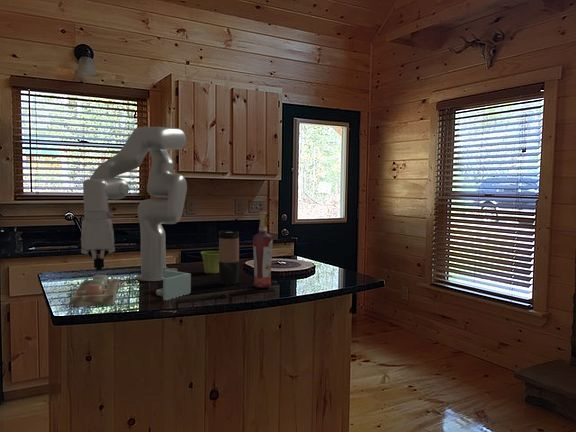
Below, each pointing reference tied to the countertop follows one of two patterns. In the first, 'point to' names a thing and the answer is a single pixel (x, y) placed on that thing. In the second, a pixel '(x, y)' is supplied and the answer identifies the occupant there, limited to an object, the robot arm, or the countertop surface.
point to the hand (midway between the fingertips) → (99, 269)
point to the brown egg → (94, 289)
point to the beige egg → (101, 277)
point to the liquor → (262, 254)
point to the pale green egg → (98, 282)
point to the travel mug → (228, 257)
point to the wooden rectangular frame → (93, 300)
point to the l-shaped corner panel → (175, 285)
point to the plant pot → (211, 261)
